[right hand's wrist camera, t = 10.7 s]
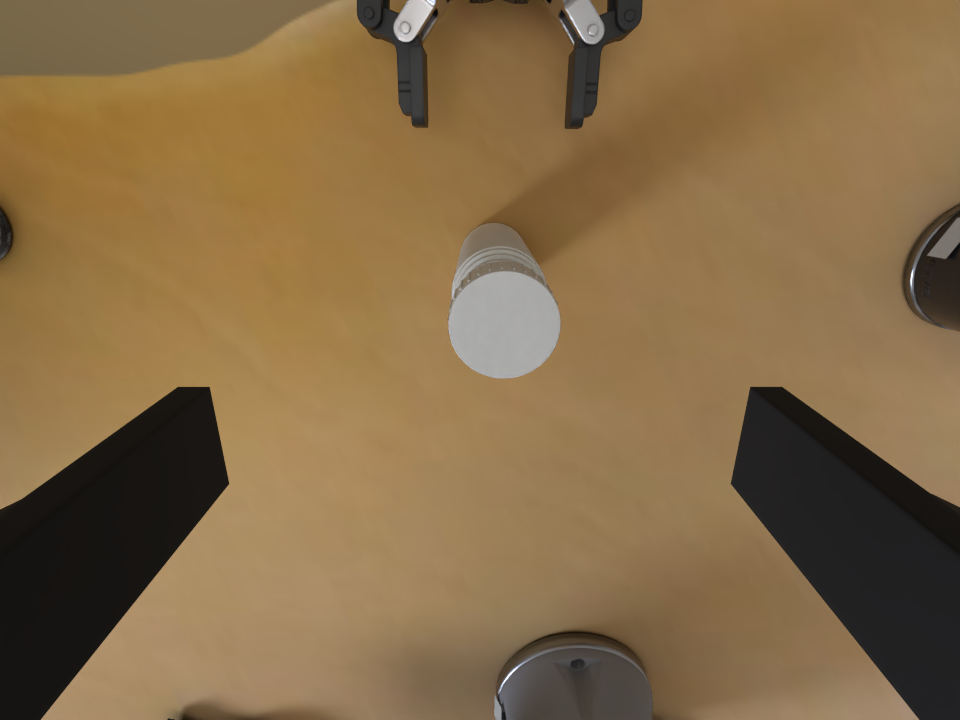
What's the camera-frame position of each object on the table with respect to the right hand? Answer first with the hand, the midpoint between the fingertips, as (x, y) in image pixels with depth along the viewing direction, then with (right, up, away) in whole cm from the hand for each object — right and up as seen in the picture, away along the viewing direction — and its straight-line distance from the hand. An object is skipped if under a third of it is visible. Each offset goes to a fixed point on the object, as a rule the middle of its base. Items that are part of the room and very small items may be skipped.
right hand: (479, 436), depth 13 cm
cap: (+1, +3, +8) cm, 8 cm away
